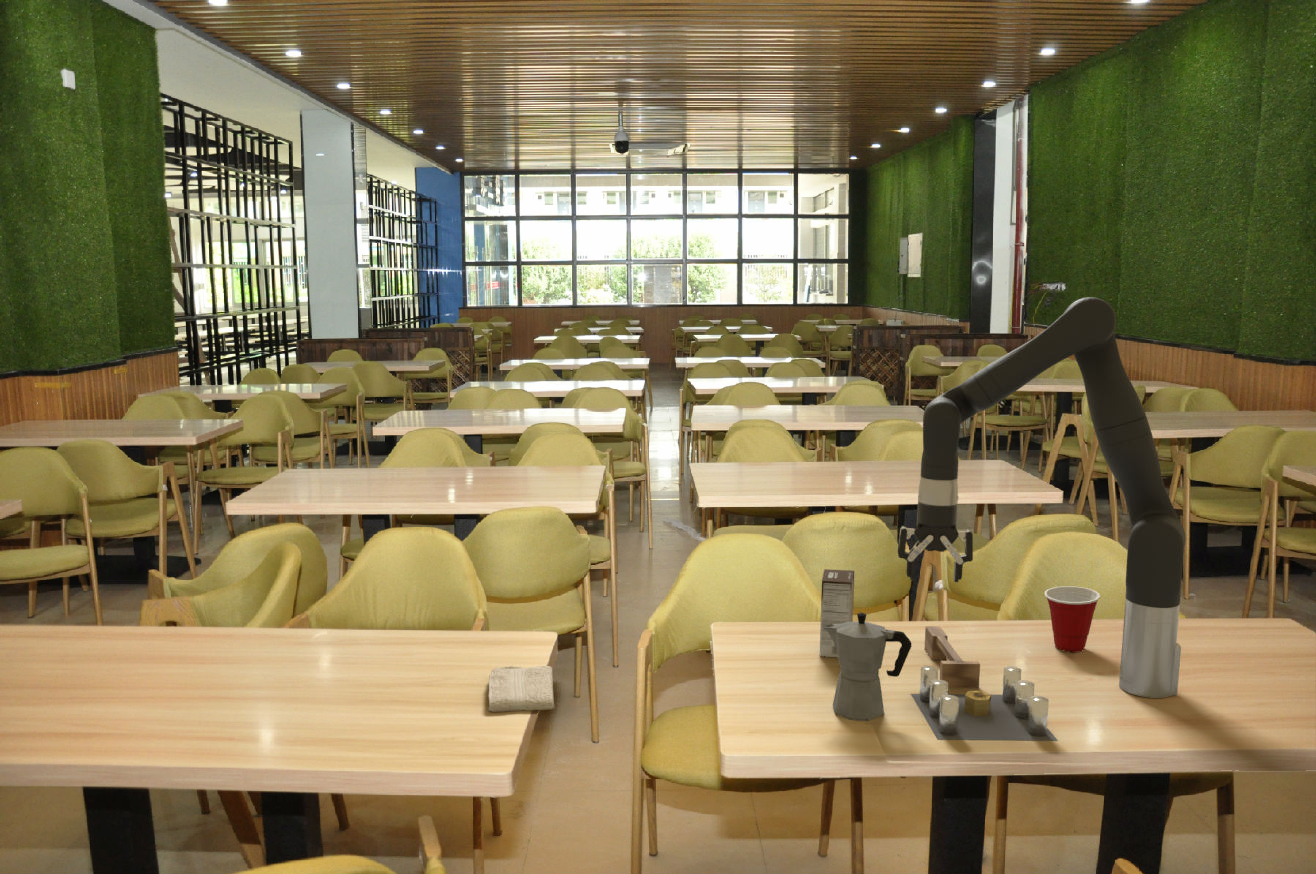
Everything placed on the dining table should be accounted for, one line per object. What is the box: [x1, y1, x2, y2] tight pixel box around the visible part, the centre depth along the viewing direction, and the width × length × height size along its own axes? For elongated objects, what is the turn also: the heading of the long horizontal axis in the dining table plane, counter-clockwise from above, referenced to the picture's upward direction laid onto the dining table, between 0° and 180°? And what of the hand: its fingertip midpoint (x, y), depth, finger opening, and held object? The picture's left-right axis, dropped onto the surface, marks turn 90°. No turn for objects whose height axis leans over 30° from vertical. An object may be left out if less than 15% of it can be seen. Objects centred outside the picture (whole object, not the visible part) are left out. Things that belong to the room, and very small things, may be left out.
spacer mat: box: [910, 693, 1059, 742], centre depth 190 cm, size 20×20×1 cm
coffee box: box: [819, 568, 856, 658], centre depth 223 cm, size 9×6×16 cm
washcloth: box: [488, 665, 555, 713], centre depth 200 cm, size 12×18×3 cm, turn 8°
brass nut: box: [964, 690, 991, 716], centre depth 192 cm, size 5×4×3 cm
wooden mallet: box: [924, 625, 981, 689], centre depth 214 cm, size 7×22×5 cm, turn 0°
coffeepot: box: [824, 612, 912, 722], centre depth 191 cm, size 15×9×18 cm, turn 66°
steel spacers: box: [919, 664, 1049, 737], centre depth 190 cm, size 18×17×6 cm
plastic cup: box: [1044, 585, 1101, 653], centre depth 226 cm, size 11×11×12 cm
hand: (933, 580), depth 215 cm, fingers open, 8 cm apart
